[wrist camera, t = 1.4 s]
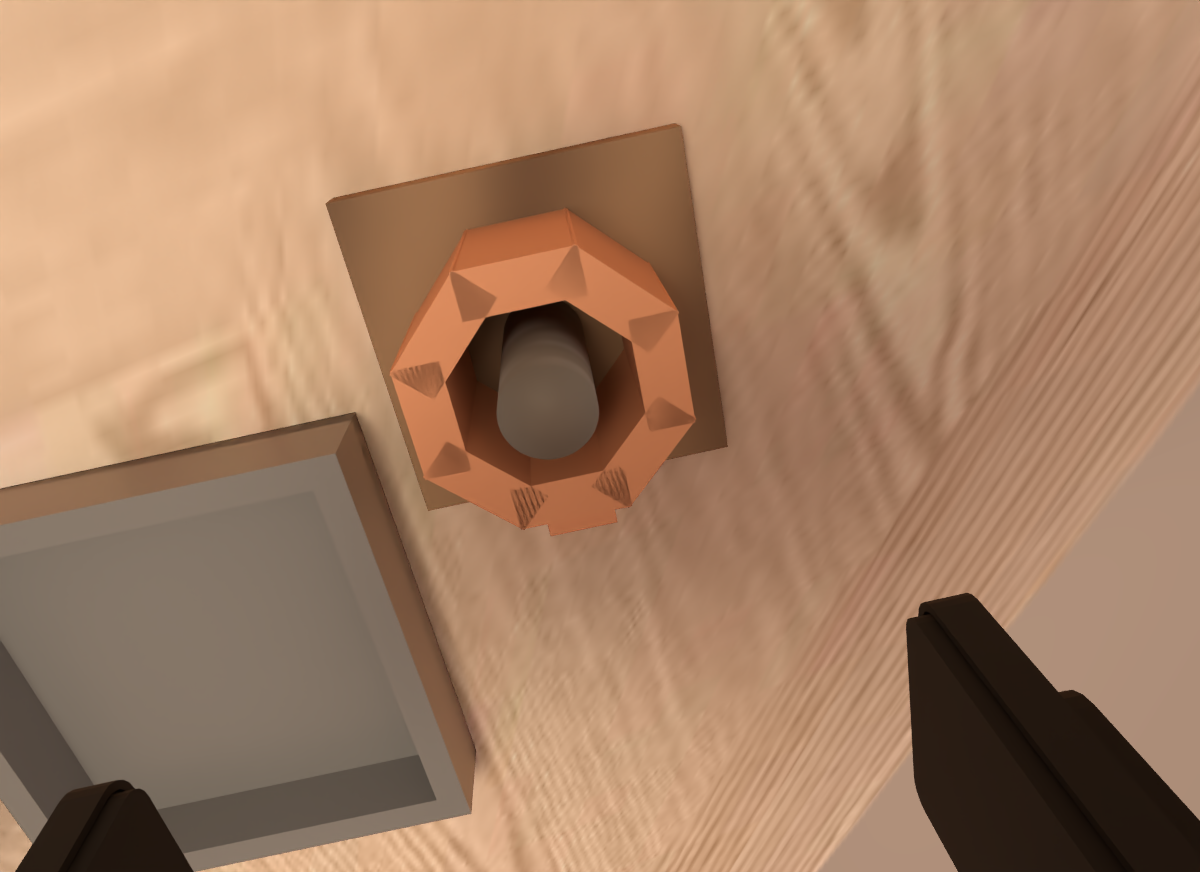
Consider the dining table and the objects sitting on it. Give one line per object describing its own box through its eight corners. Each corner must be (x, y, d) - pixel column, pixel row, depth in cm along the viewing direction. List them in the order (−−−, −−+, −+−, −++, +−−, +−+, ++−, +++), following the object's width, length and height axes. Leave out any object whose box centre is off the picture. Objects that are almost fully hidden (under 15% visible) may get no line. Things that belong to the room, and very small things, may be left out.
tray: (354, 412, 26) (335, 453, 24) (475, 750, 33) (471, 813, 30) (-100, 510, 27) (-171, 561, 24) (109, 827, 33) (71, 897, 30)
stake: (675, 123, 23) (729, 147, 17) (721, 433, 28) (778, 545, 21) (333, 198, 24) (262, 249, 17) (431, 496, 28) (403, 625, 21)
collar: (637, 191, 23) (665, 224, 19) (684, 458, 27) (716, 540, 22) (393, 244, 23) (360, 289, 19) (472, 503, 27) (461, 594, 22)
